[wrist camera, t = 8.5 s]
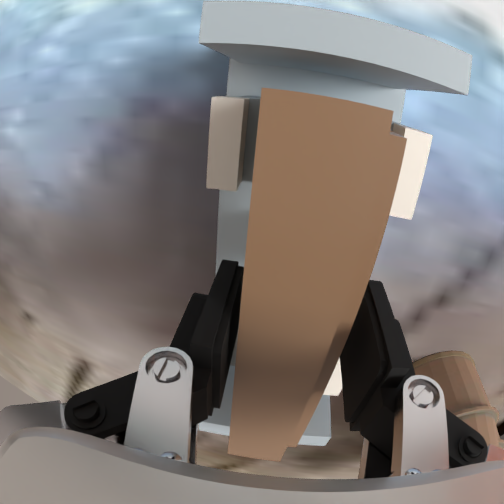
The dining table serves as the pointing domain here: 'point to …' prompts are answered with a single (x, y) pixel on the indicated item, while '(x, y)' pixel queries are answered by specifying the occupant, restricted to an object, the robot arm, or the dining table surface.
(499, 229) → the dining table surface
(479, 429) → the binoculars
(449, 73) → the display cradle
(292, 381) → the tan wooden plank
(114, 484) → the robot arm
